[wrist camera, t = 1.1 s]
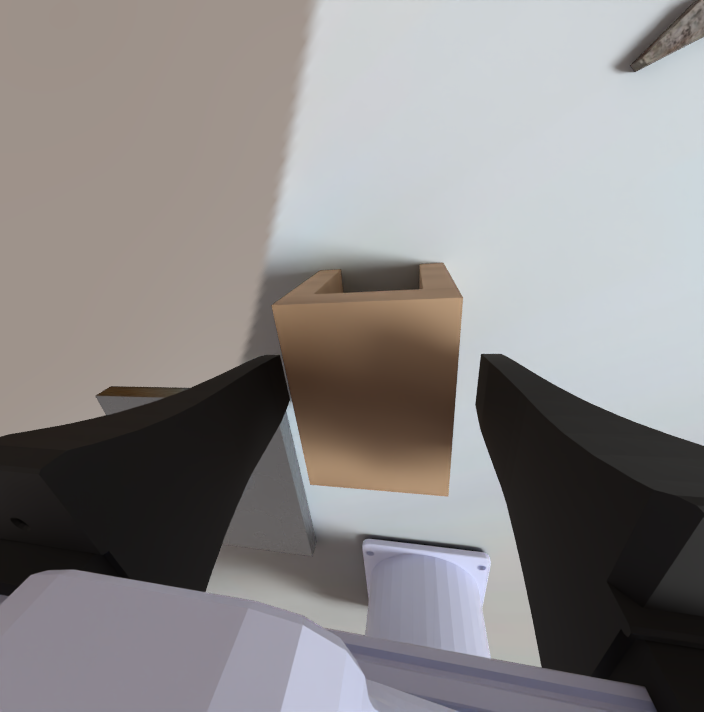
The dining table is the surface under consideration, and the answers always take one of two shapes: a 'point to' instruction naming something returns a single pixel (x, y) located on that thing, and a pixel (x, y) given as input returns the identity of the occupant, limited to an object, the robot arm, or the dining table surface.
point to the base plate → (250, 485)
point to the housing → (374, 380)
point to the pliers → (675, 36)
